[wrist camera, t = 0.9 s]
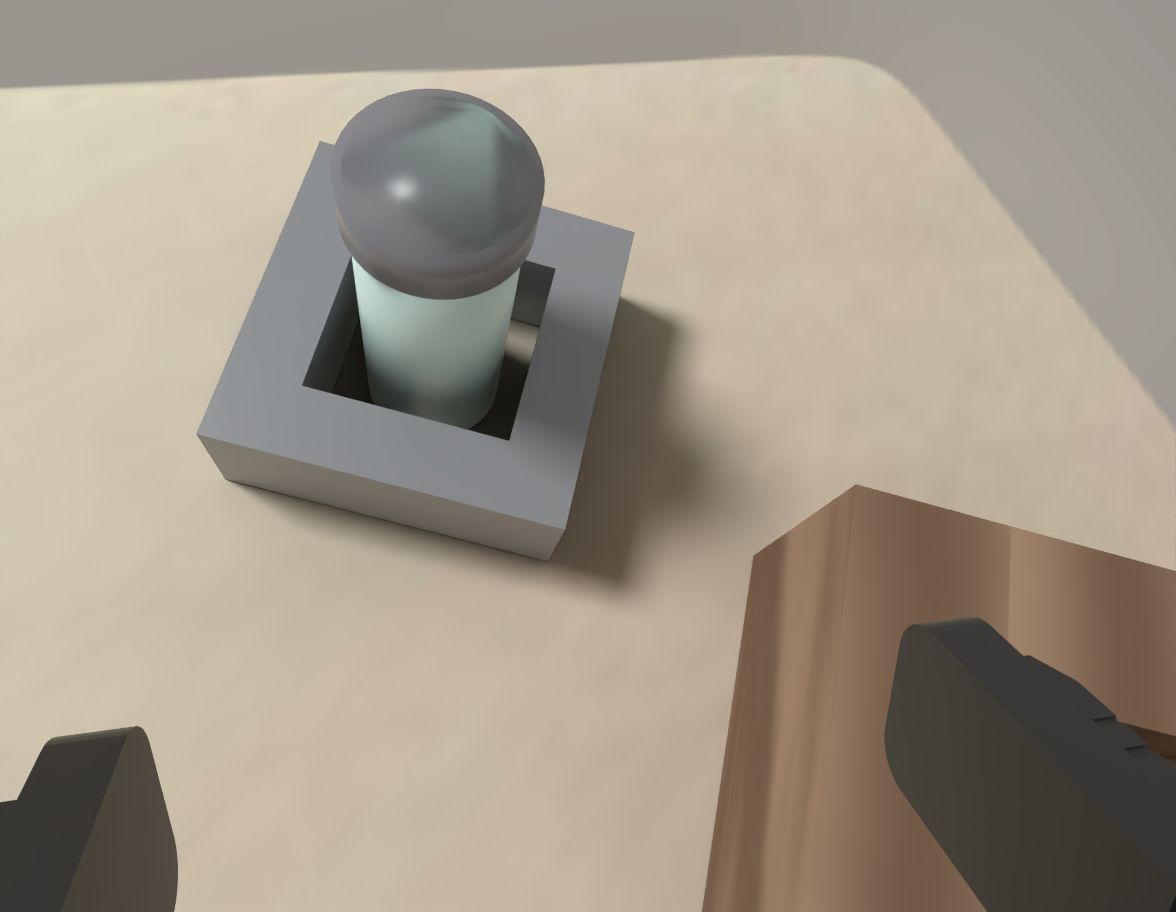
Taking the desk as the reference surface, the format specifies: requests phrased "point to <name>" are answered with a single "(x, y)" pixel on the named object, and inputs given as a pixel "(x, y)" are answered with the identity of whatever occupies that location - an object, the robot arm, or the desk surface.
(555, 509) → the grey hollow square block
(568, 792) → the desk surface
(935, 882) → the port block
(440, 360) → the plug
